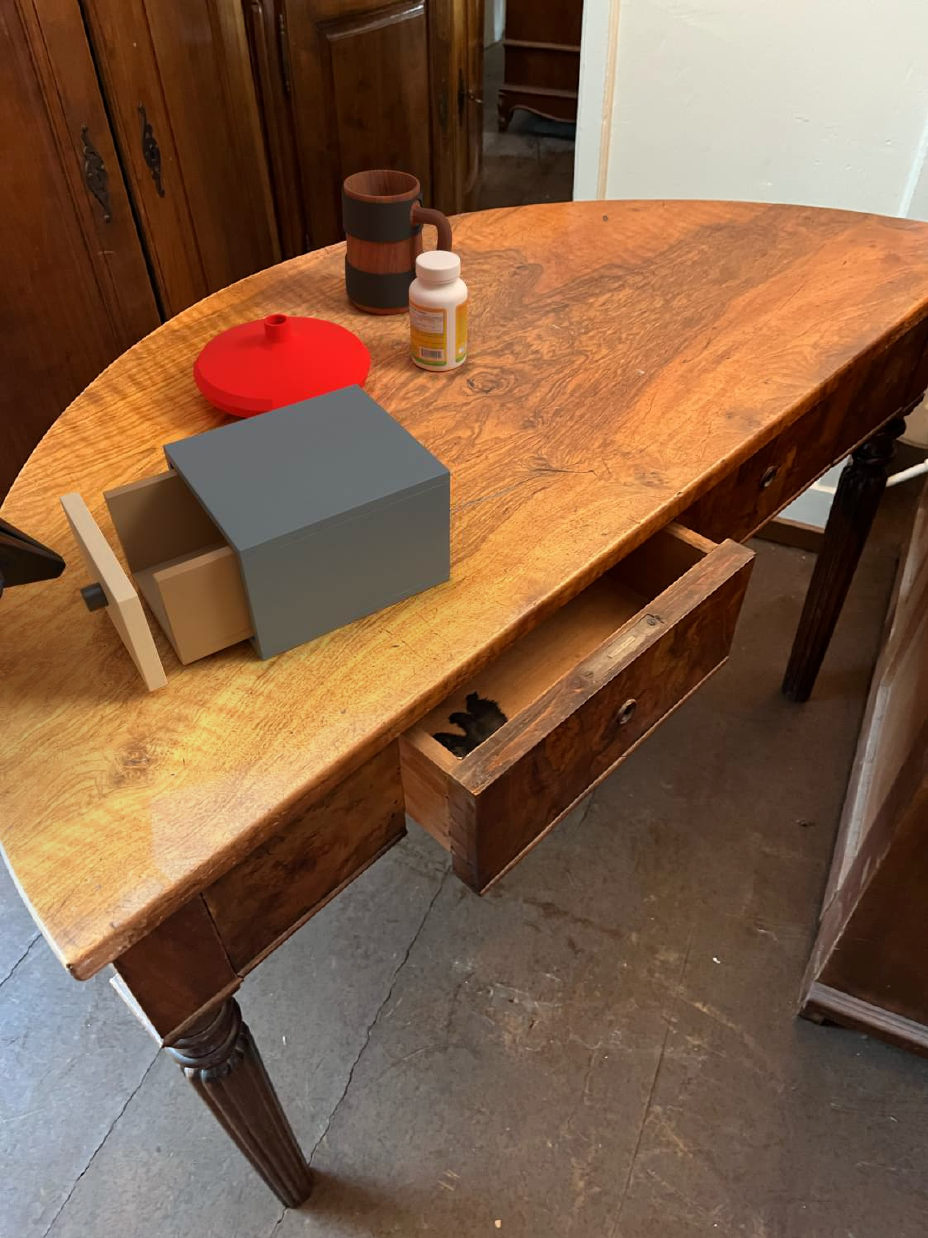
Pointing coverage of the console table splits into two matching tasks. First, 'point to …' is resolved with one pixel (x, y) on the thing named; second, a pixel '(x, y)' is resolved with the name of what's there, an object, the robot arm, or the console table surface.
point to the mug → (385, 238)
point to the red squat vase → (278, 364)
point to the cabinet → (321, 512)
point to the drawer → (162, 572)
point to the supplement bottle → (438, 312)
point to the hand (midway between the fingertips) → (61, 567)
